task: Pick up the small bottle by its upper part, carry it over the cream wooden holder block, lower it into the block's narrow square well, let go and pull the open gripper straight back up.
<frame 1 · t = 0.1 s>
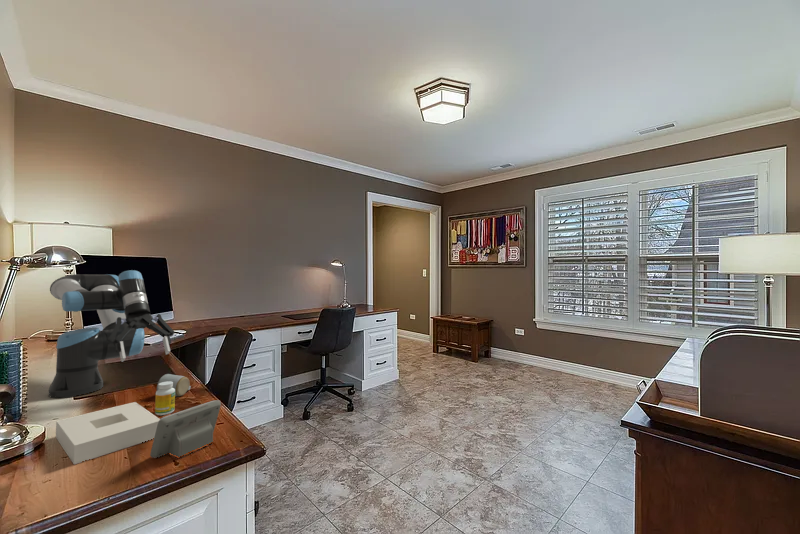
hand: (146, 356, 124), 15 cm above the table, tool tilted 35°, fingers open, 13 cm apart
supplement bottle: (164, 413, 112), on the table
digital clock: (187, 448, 90), on the table
holder block: (108, 436, 95), on the table
ceramic mug: (175, 394, 129), on the table
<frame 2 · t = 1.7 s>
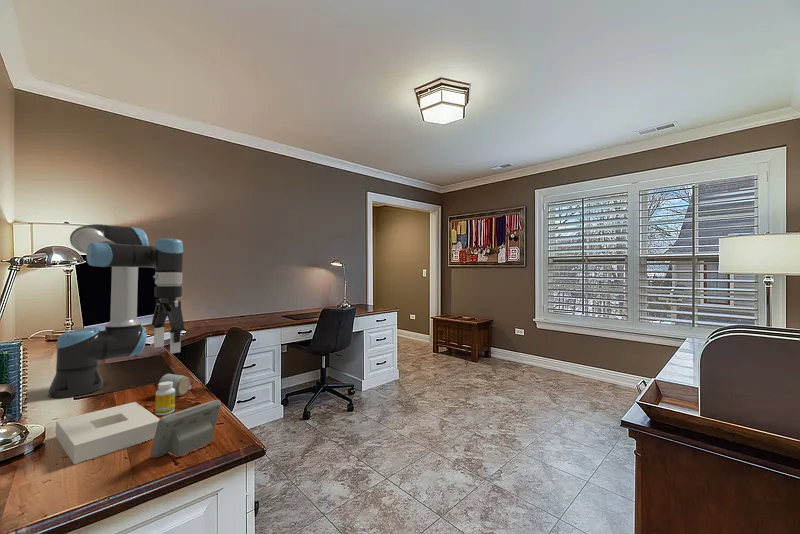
hand: (166, 349, 113), 20 cm above the table, tool pointing down, fingers open, 13 cm apart
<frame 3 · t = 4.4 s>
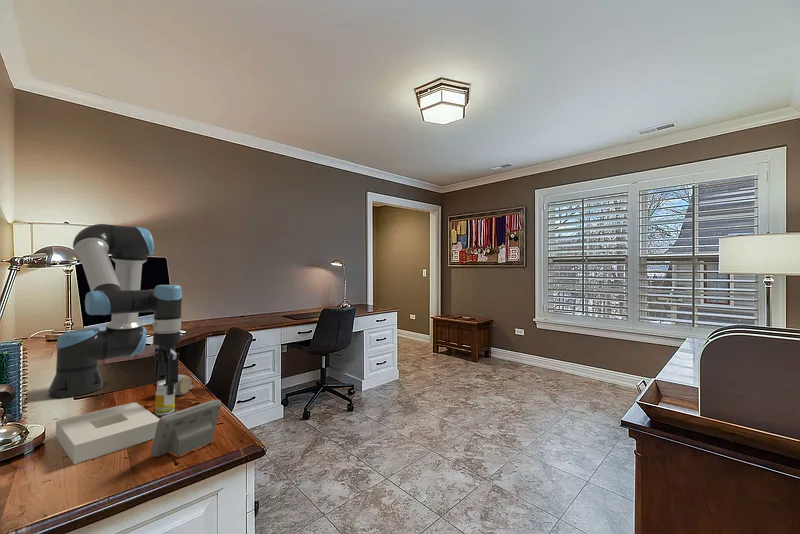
hand: (165, 402, 112), 3 cm above the table, tool pointing down, fingers closed on supplement bottle, 5 cm apart
supplement bottle: (164, 412, 112), on the table, touching gripper
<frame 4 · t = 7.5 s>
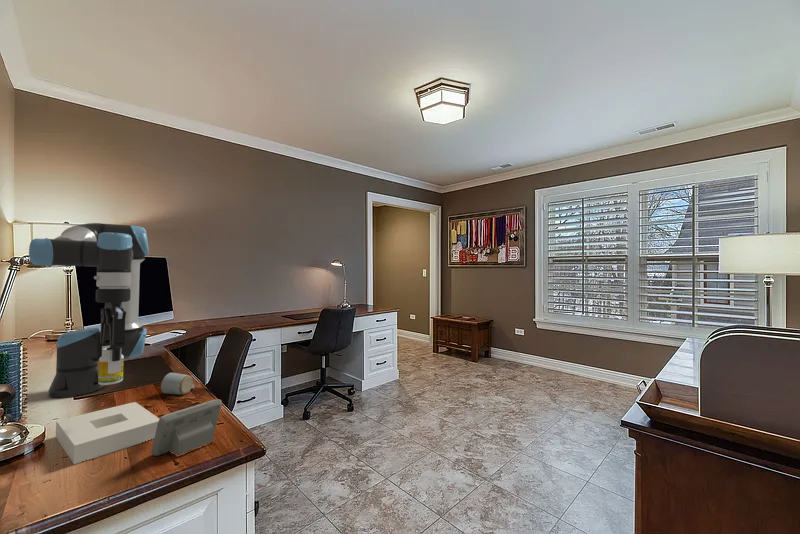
hand: (111, 370, 96), 18 cm above the table, tool pointing down, fingers closed on supplement bottle, 5 cm apart
supplement bottle: (110, 383, 96), point 15 cm above the table, touching gripper
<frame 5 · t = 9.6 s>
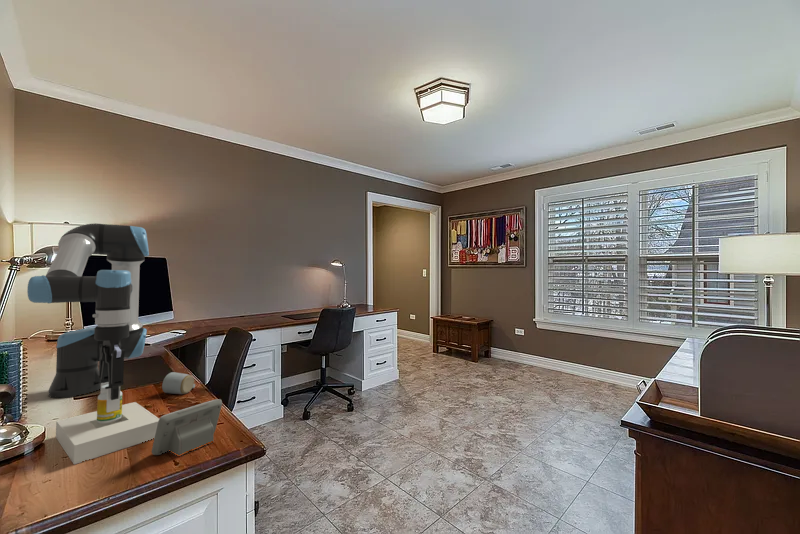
hand: (109, 407, 95), 8 cm above the table, tool pointing down, fingers closed on supplement bottle, 5 cm apart
supplement bottle: (109, 420, 95), point 5 cm above the table, touching gripper
when the fingers open (6 cm above the table, at t = 11.0 s): supplement bottle drops 2 cm, resting in holder block.
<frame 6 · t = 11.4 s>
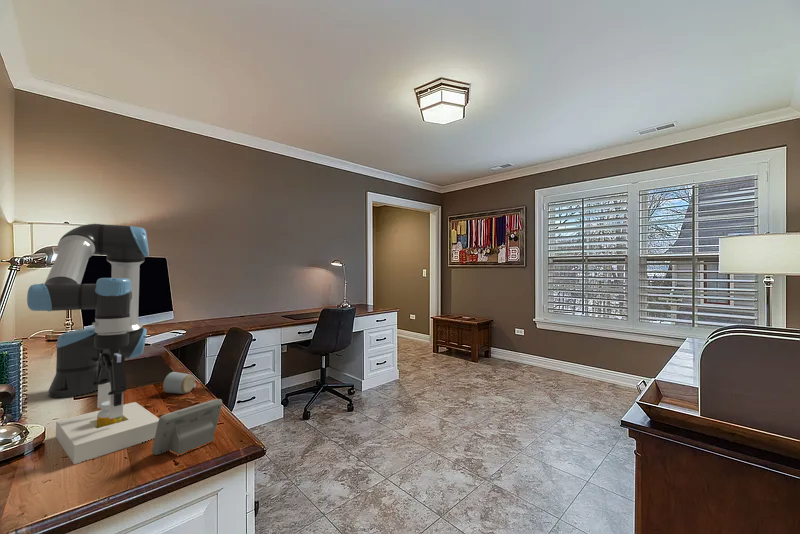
hand: (109, 411, 95), 7 cm above the table, tool pointing down, fingers open, 11 cm apart
supplement bottle: (109, 437, 95), resting in holder block
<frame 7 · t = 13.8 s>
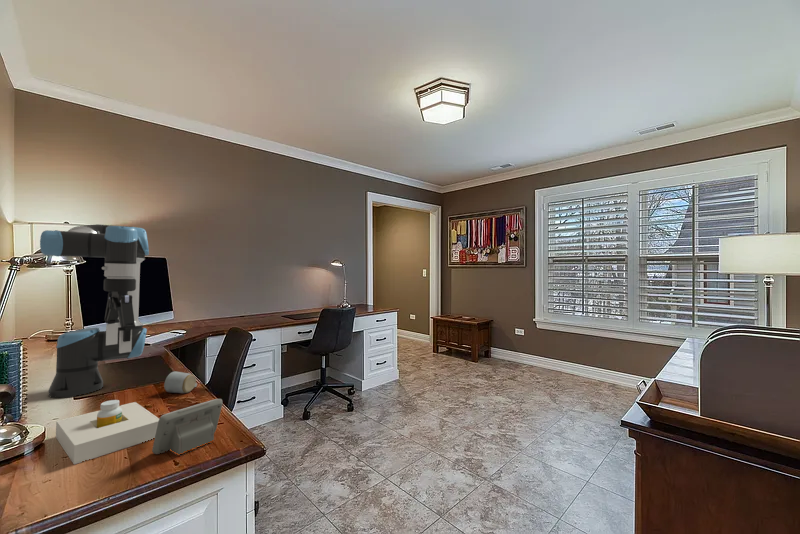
hand: (118, 348, 103), 23 cm above the table, tool pointing down, fingers open, 13 cm apart
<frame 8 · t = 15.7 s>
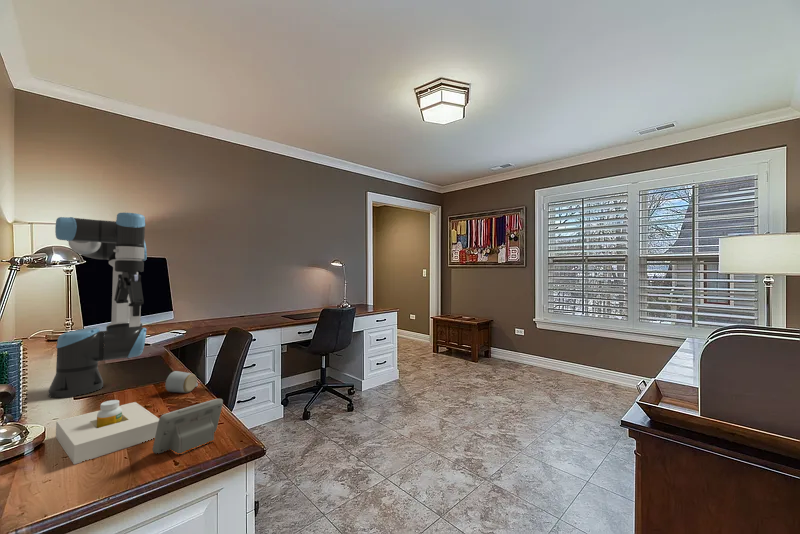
hand: (127, 324, 112), 29 cm above the table, tool pointing down, fingers open, 13 cm apart
at the end: supplement bottle 0.2 cm off-centre on the holder block, point 0.0 cm above the holder block's base; supplement bottle tilted 0°; the gripper is holding nothing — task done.
